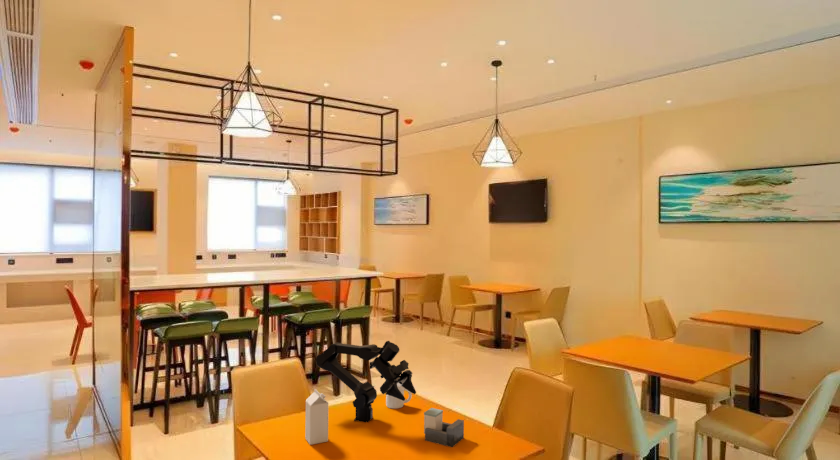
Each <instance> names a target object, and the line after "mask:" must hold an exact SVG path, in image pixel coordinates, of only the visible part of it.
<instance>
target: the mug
mask: <svg viewBox="0 0 840 460" xmlns="http://www.w3.org/2000/svg"><path fill="white" fill-rule="evenodd" d="M401 385H402V384H400V383H397V388H398V389H399V390H400V392H401V393H402V394H403V396H404V397H405V391H406V392H408V398H407V399H406V398H405V400H404V401H403V400H400V399H398V398H395V397H393V396H390V395H386V394H385V396H386V397H385V405H386V407H387V408H389V409H396V410H397V409H401V408H403V407H404V406H405V405H404V404H407V403H409V402H410V401H411V399H412V397H413V395H412V394H413V393H411V392H410V391H408V390H407V389H405V388H404V387H402V386H401Z"/></svg>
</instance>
